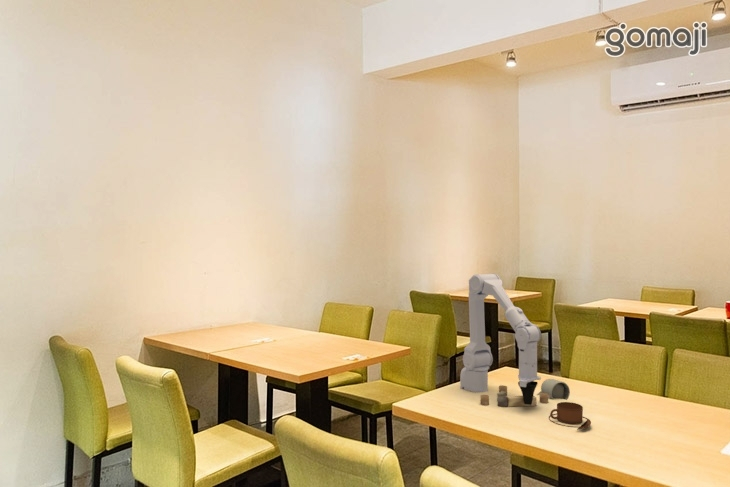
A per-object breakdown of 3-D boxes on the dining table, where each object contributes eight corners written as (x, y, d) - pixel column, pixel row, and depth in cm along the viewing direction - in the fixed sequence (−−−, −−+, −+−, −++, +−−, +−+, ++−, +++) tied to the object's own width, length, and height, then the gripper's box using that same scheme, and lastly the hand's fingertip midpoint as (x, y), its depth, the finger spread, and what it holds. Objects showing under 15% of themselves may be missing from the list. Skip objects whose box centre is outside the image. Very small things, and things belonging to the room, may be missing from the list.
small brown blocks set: (477, 408, 180) (477, 396, 180) (500, 396, 194) (500, 384, 194) (530, 420, 168) (530, 406, 168) (550, 406, 183) (550, 393, 183)
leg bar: (499, 407, 177) (499, 398, 177) (496, 404, 180) (496, 395, 180) (536, 406, 178) (536, 397, 178) (532, 403, 181) (532, 394, 181)
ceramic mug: (556, 396, 194) (556, 375, 194) (570, 402, 187) (570, 381, 187) (531, 398, 192) (531, 377, 192) (544, 405, 184) (544, 383, 184)
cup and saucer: (571, 435, 156) (571, 414, 156) (540, 422, 167) (540, 402, 167) (599, 429, 162) (600, 408, 162) (567, 417, 172) (568, 397, 172)
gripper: (535, 368, 168) (535, 411, 168) (545, 359, 181) (545, 400, 181) (512, 365, 172) (512, 408, 172) (523, 357, 184) (523, 397, 184)
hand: (528, 404), depth 177 cm, fingers closed, pressing on leg bar
